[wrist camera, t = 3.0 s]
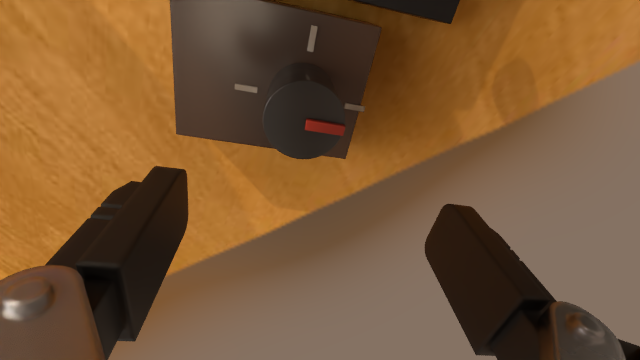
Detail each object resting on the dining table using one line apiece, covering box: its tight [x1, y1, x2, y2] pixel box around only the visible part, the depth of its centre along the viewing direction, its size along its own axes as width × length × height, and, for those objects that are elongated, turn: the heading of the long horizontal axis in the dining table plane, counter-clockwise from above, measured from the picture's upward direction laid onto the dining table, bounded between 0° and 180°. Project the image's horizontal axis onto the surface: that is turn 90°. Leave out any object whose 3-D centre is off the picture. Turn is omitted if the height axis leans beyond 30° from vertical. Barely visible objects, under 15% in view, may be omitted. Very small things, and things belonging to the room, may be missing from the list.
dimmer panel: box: [170, 0, 381, 159], centre depth 20 cm, size 12×9×3 cm
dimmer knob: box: [263, 63, 345, 159], centre depth 18 cm, size 4×4×5 cm
